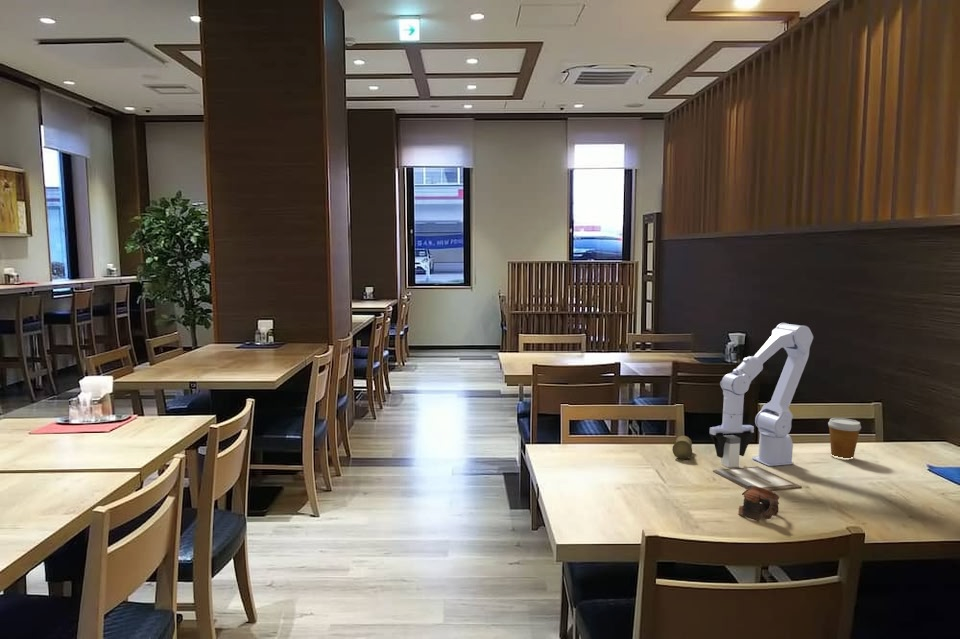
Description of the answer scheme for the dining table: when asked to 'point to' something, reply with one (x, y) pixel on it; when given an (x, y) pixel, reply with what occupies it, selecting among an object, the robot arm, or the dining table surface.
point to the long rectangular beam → (731, 451)
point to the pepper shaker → (682, 447)
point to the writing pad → (756, 478)
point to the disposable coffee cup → (843, 436)
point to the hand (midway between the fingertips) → (730, 456)
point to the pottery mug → (753, 505)
